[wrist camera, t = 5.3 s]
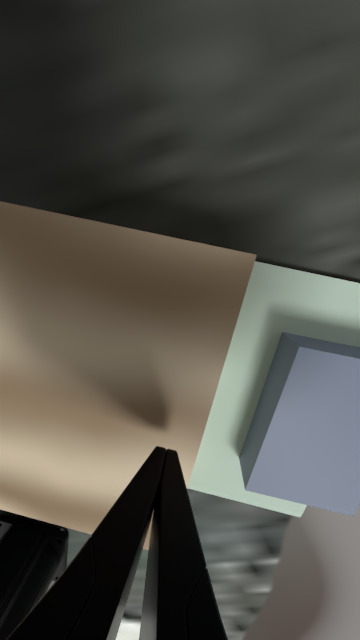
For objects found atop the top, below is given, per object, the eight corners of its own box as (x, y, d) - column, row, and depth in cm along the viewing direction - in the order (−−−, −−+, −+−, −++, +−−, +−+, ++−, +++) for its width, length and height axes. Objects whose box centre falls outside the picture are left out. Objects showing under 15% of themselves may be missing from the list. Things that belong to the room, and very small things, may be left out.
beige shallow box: (176, 480, 15) (167, 555, 11) (34, 444, 15) (-21, 503, 12) (236, 257, 11) (256, 255, 7) (33, 215, 11) (-57, 189, 7)
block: (245, 490, 12) (239, 458, 14) (352, 516, 11) (331, 479, 13) (299, 346, 9) (282, 331, 11) (440, 374, 9) (397, 354, 11)
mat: (298, 512, 15) (300, 517, 14) (176, 480, 15) (175, 485, 15) (416, 295, 10) (422, 296, 10) (236, 257, 11) (237, 257, 10)
